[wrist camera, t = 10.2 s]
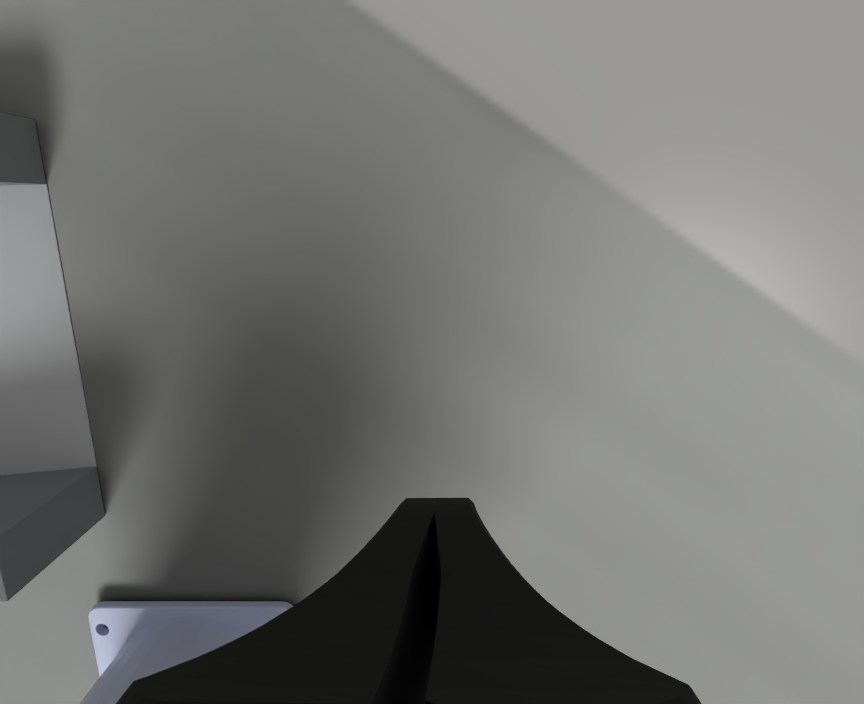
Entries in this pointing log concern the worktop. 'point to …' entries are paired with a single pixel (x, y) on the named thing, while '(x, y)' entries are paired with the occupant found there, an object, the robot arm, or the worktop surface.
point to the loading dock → (37, 378)
